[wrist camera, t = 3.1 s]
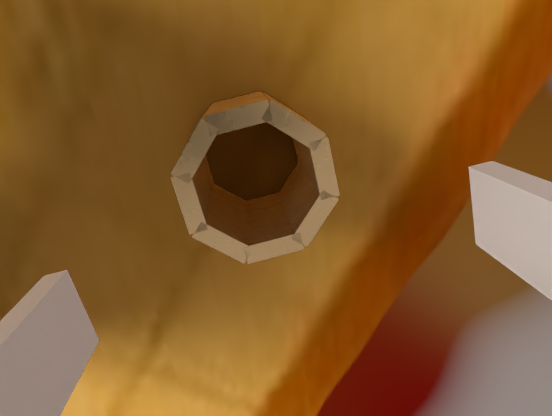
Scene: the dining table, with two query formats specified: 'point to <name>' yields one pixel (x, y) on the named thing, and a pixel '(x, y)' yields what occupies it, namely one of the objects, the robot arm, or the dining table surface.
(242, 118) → the ring
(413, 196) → the dining table surface
